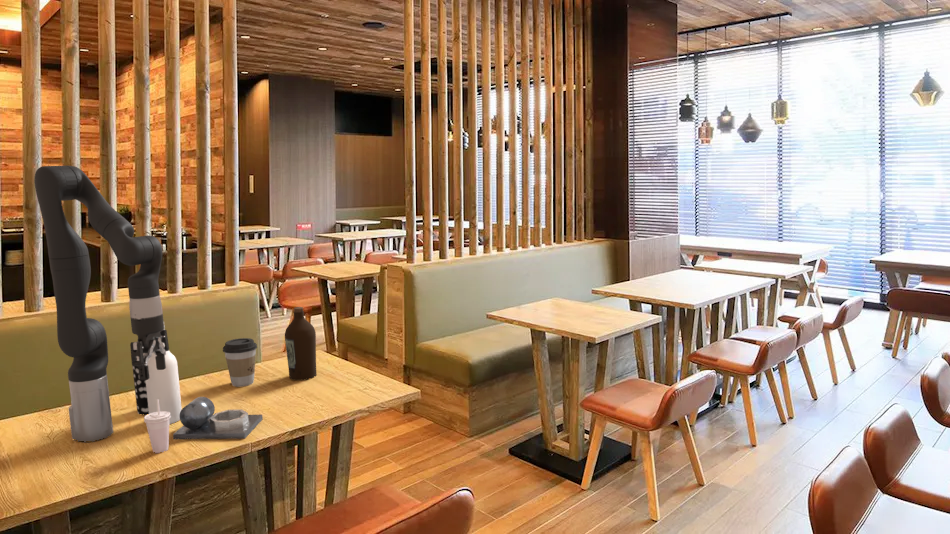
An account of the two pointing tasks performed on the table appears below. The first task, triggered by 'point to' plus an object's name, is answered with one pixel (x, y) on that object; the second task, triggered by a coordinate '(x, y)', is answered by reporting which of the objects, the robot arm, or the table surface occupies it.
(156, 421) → the smoothie
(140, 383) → the white-spotted black cylinder
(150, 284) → the robot arm
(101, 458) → the table surface
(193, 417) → the flat grey tray
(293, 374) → the olive oil
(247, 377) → the coffee cup
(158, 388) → the alcohol
